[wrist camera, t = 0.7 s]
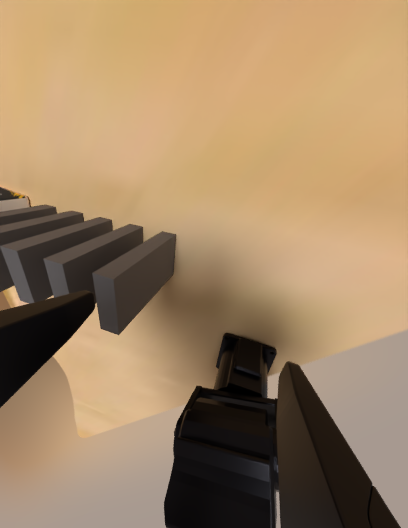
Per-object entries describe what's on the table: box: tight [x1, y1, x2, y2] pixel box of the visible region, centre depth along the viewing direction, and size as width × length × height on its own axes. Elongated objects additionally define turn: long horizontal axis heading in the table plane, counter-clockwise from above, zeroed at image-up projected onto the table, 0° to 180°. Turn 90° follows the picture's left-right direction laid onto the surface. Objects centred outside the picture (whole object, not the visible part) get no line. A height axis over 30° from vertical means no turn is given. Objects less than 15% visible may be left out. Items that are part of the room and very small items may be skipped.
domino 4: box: [44, 224, 143, 304], centre depth 19 cm, size 5×2×10 cm, turn 172°
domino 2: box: [0, 211, 84, 292], centre depth 21 cm, size 5×2×10 cm, turn 172°
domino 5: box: [92, 231, 176, 335], centre depth 18 cm, size 5×2×10 cm, turn 172°
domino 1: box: [0, 205, 57, 226], centre depth 21 cm, size 5×2×10 cm, turn 172°
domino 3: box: [0, 217, 113, 304], centre depth 20 cm, size 5×2×10 cm, turn 172°
